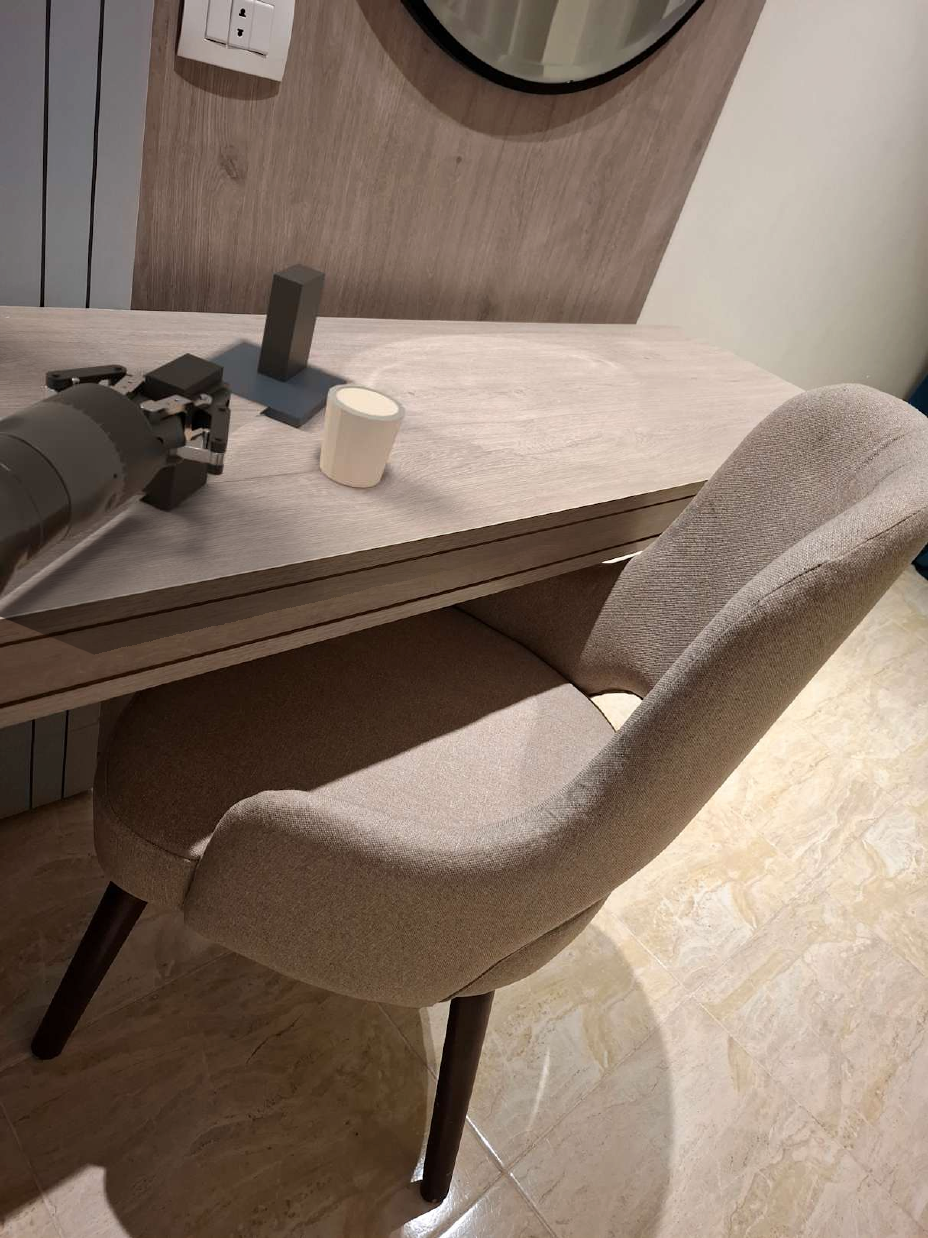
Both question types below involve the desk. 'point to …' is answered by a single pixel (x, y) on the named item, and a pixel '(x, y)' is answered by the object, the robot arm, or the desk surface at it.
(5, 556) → the robot arm
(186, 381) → the block
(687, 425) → the desk surface
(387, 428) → the shot glass
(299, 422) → the dock
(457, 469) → the desk surface
